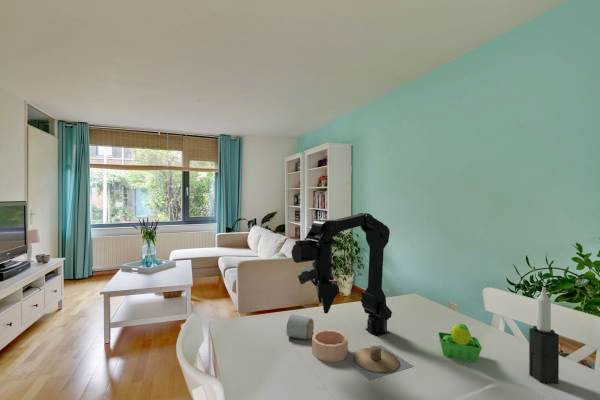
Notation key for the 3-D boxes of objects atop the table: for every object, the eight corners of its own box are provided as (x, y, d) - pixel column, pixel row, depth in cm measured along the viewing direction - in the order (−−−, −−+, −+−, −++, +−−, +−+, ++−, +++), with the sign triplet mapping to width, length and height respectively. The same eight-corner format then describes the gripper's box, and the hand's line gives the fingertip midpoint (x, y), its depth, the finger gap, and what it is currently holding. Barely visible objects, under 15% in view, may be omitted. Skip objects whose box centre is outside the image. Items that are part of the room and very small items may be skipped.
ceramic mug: (308, 344, 100) (308, 320, 100) (285, 340, 102) (286, 317, 102) (316, 331, 110) (317, 310, 110) (295, 328, 112) (296, 307, 112)
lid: (378, 346, 97) (378, 335, 97) (408, 366, 86) (408, 354, 86) (345, 354, 92) (345, 343, 92) (372, 377, 80) (372, 364, 80)
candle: (526, 373, 84) (527, 284, 84) (543, 372, 84) (544, 284, 84) (543, 384, 78) (543, 289, 79) (561, 383, 79) (561, 289, 79)
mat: (381, 346, 98) (381, 344, 98) (413, 367, 86) (413, 366, 86) (340, 356, 92) (340, 355, 92) (369, 381, 79) (369, 379, 79)
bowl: (335, 342, 101) (335, 327, 101) (354, 358, 91) (354, 341, 91) (306, 349, 96) (306, 333, 96) (323, 366, 86) (323, 349, 86)
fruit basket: (476, 353, 95) (476, 317, 95) (483, 367, 86) (484, 328, 87) (437, 347, 99) (437, 312, 99) (440, 360, 90) (440, 323, 90)
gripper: (295, 254, 104) (295, 299, 104) (301, 266, 85) (301, 320, 85) (326, 253, 105) (327, 297, 105) (339, 265, 86) (339, 318, 86)
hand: (323, 307), depth 95 cm, fingers open, 9 cm apart
